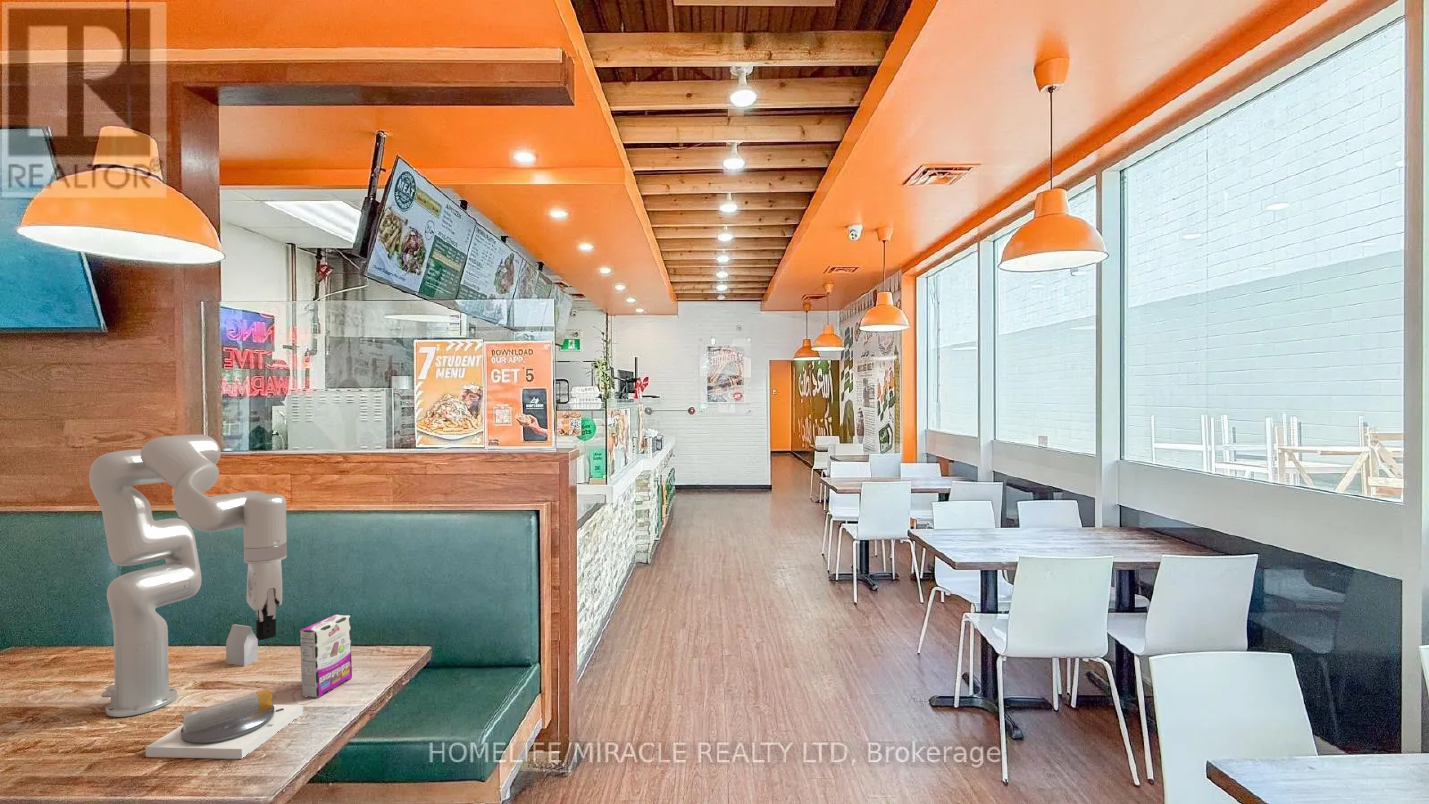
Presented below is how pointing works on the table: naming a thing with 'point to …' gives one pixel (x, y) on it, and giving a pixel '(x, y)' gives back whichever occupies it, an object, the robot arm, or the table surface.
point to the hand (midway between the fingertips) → (266, 637)
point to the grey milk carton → (241, 646)
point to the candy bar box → (325, 655)
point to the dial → (228, 719)
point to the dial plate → (229, 748)
